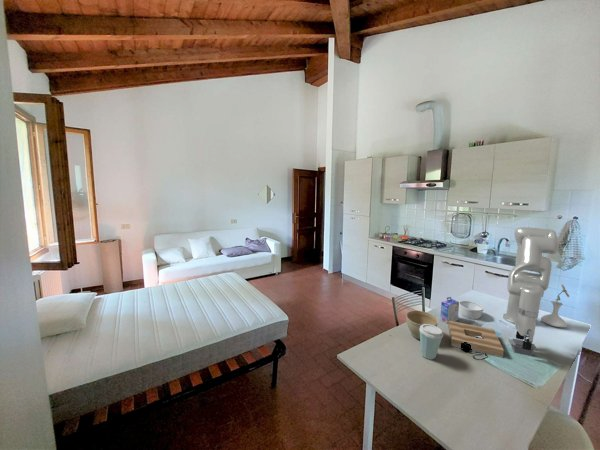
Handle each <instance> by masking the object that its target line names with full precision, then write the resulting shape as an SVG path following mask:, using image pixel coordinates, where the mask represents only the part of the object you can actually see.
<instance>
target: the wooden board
mask: <svg viewBox="0 0 600 450" xmlns="http://www.w3.org/2000/svg"><path fill="white" fill-rule="evenodd" d="M447 324H448V325H447V328H448V334H449V340H450V345H451V347H454V348H455V347H456V348H460V349H462V348H461V343H464V342H467V343H468V344H470V345H471V349H472V350H471V351H473V352H475V353H476V352H477V353H481V354H485V353H486V355H489V354H490V356H495V357H499V358H501V359H502V358H504V352H505V351H504V347H503V345H502V344H501V342H500V340H499V337H498V335H497V333H496V331H495V329H493V328H488V327H483V326H478V325H473V324H469V323H463V322H458V321H454V322H453V321H449V323H447ZM471 336H481V337H482V339H481V338H476V337H471Z"/></svg>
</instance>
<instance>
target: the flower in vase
mask: <svg viewBox="0 0 600 450" xmlns="http://www.w3.org/2000/svg"><path fill="white" fill-rule="evenodd" d="M561 288H562V291H561V292H560V293H558V295H557V298H556V300H552V301H551V303H552V306H553V307H552V308H553V309H552V313H549V314H545V315H542V316H541V318H540V319H541V321H542V322H543V323H545V324H547V325H549V326H552V327H556V328H566V327H568V324H567V322H566V321H565V320H564V319H563V318H562V317H561V316H560V315H559V310H560V308H561V306H564V304H563V303H562V302H560V301H561V298H560V295H561V294H562V293H564V294H565V295H566V297H567V298H570V294H569V293H568V290H567V289H566V287H565V286H564V284H561Z"/></svg>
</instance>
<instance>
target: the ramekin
mask: <svg viewBox="0 0 600 450" xmlns="http://www.w3.org/2000/svg"><path fill="white" fill-rule="evenodd" d="M458 302H459V311H458V312H459V313H460V315H461V316H462V317H465V318H467V319H470V320H479V319H480V318H481V317H482V314H483V311H484V306H482V305H481V304H480V303H477V302H475V301H471V300H461V301H458Z"/></svg>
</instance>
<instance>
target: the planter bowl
mask: <svg viewBox="0 0 600 450" xmlns="http://www.w3.org/2000/svg"><path fill="white" fill-rule="evenodd" d="M405 317H406V325H407V328H408V330H409V332H410V333H411V335H412V337H413V338H415V339H417V340H420V331H419V329H420V326H421V325H423V324H430V325H434V326H436V327H438V325H439V319H438V318H437V317H436V315H435V316H434V315H433V314H432V313H429V312H427V311H424V310H423V311H422V310H410V311H407V313H406V314H405Z"/></svg>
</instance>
